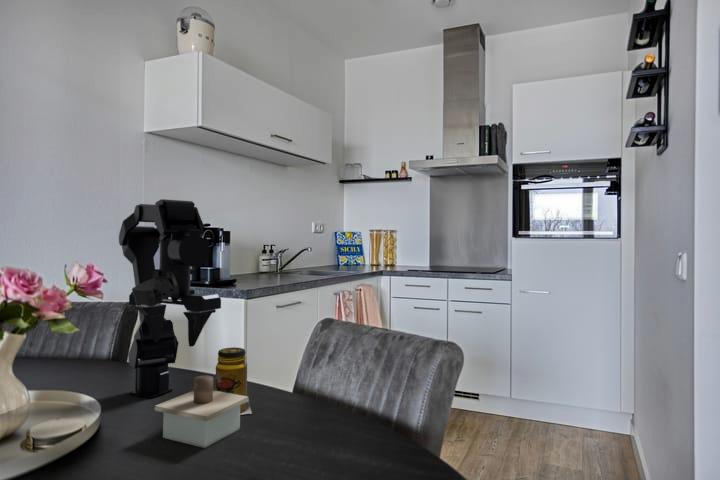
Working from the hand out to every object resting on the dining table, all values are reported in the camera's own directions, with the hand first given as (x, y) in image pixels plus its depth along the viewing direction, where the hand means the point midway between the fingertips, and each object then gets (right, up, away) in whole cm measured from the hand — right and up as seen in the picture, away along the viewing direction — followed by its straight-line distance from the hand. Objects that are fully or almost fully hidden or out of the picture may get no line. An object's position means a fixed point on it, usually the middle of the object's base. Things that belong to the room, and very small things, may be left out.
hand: (173, 343), depth 96 cm
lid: (+9, -9, -11) cm, 16 cm away
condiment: (+11, -14, +2) cm, 17 cm away
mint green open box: (+9, -14, -11) cm, 20 cm away
